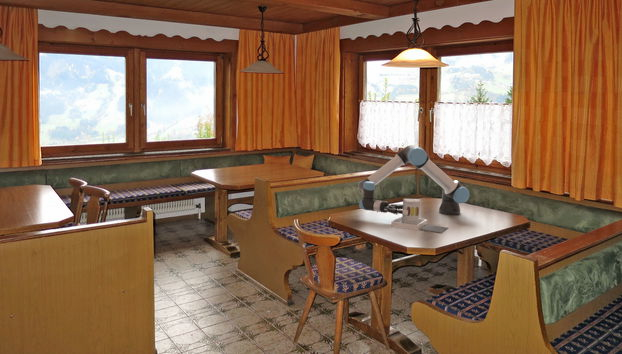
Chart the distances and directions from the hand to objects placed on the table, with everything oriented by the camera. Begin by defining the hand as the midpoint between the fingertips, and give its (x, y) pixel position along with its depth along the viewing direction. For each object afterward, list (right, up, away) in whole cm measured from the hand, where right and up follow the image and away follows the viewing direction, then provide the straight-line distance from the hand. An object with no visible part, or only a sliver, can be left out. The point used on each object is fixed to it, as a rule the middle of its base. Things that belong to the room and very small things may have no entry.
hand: (411, 210), depth 346 cm
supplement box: (-1, -10, +2) cm, 10 cm away
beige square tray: (-1, -10, +2) cm, 10 cm away
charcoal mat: (+13, -11, -7) cm, 19 cm away
